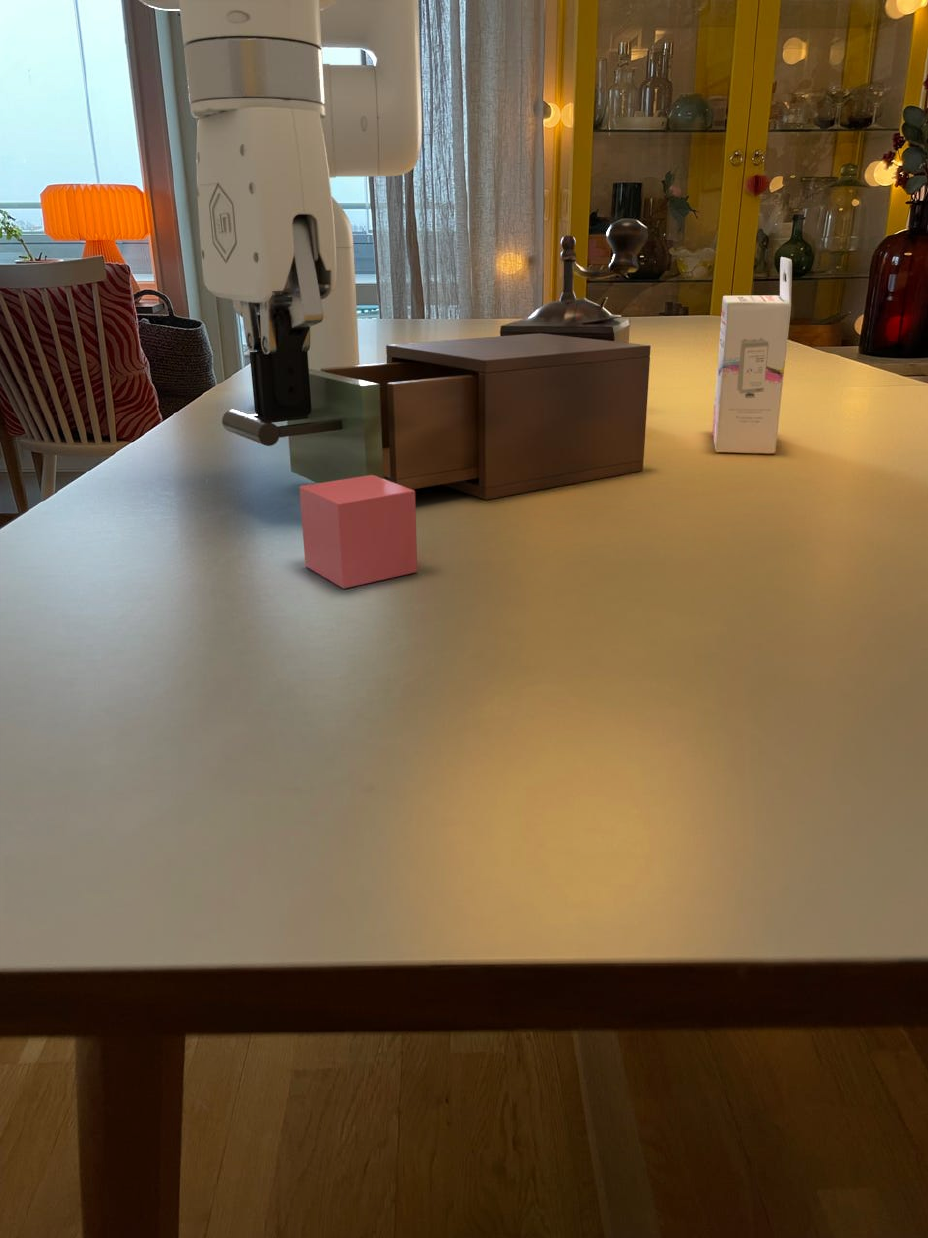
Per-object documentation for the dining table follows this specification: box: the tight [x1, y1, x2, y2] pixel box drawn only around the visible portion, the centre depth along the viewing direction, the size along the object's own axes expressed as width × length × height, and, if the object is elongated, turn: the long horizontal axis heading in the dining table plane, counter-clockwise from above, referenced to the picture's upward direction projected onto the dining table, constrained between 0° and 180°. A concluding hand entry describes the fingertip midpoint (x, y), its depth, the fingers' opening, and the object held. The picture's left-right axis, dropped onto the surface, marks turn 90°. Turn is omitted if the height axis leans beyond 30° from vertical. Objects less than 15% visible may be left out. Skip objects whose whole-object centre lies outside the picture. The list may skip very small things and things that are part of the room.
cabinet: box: [385, 333, 651, 501], centre depth 70 cm, size 15×13×9 cm
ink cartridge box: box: [711, 256, 793, 455], centre depth 76 cm, size 9×5×15 cm, turn 168°
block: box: [299, 475, 418, 590], centre depth 49 cm, size 4×4×4 cm
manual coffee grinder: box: [499, 217, 649, 343], centre depth 87 cm, size 16×11×18 cm
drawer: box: [221, 361, 479, 490], centre depth 63 cm, size 19×11×7 cm, turn 125°
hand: (283, 414), depth 60 cm, fingers closed
